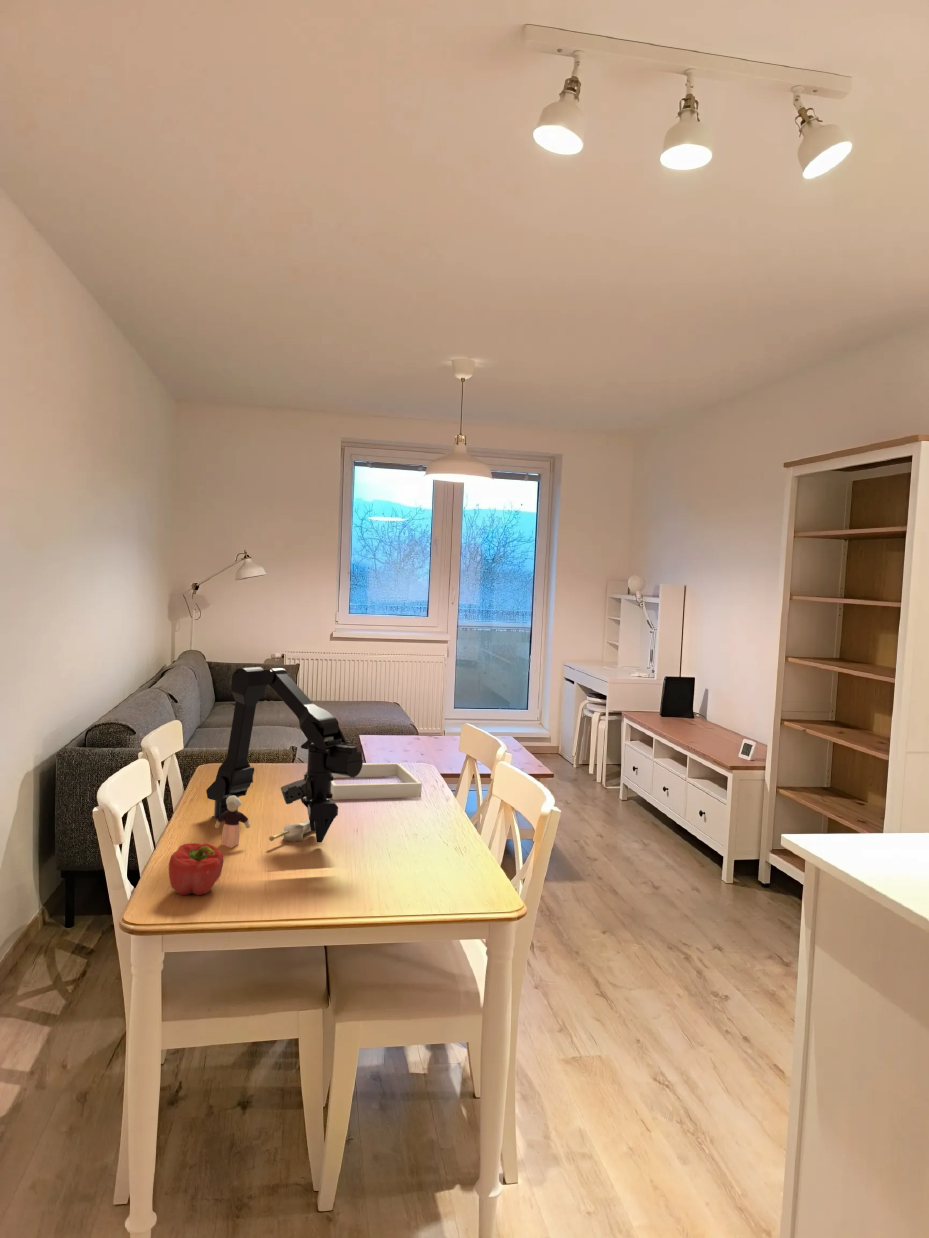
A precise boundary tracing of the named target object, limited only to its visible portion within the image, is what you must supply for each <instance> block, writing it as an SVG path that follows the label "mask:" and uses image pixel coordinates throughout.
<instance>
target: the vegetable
mask: <svg viewBox="0 0 929 1238" xmlns="http://www.w3.org/2000/svg"><path fill="white" fill-rule="evenodd" d="M223 865H224V854H223V852H222V851H221V850H220V849H218V848H217V847H216V846H215V845H213V844H210V843H183V844H181V845H179V846H178V848H177V850H176V851H174V852H173V853H172V854H171V856H170V859H169V863H168V876H169V883H170V886H171V888H172V889H173V890H174V892H176V893H177V894H178V895H180V896H186V895H189V894H194V895H196V896H197V895H198V896H201V895H204V894H206V893H209V892H210V891H211V889H212V888H213V886H214V885H215V884H216V882H217V881H218V880H219V878H220V876H221V873H222V869H223Z"/></svg>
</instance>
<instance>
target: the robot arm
mask: <svg viewBox="0 0 929 1238" xmlns="http://www.w3.org/2000/svg"><path fill="white" fill-rule="evenodd" d="M267 685H268V686H269V687H270V688H271V689H272V690H273V691H274V692H275V694H276V695H277V696H278V697H279V698H280V699H281V700H282V701H283V703H284V704H285V705H286V706H287V708H288V709H290V710H291V712H292V713H293V714H294V715H295V716H296V718H297V720H298V723H299V728H300V730H301V732H302V733H303V735H304V736H305V738H306V739H307V740H306V741H305V742H304V743H302V744H301V745H300V749H304V750H307V763H306V764H307V767H306V768H307V769H306V772H305V773H304V774H303V778H302V779H299V780H296V781H293V782H291V783H288V784H285V785H282V786H281V787H280V791H281V794H282V797H283V800H284V802H285V804H286V805H290V804H291V805H292V803H294V802H296V801H299V800H300V801H301V803H302V804H303V805H304V806H305V807H306V809H307V815H308V820H309V822H310V828H311V831H310V832H315V833H314V834H315V840H316V843H317V844H319V843H322V842H323V841H324V839H325V836H326V835H327V833H328V831H329V830H330V828H331V825H332V824H333V822H334V820H335V818H337V816H338V815H339V806H338V805H337V803H336V802H335V800H333V799H332V795H333V794H332V793H331V781H334V778H333V775H332V773H334V774H339V775H343V776H348V777H347V778H357V777H356V776H357V775H358V774H359V773H360V771H361V769H362V764H364V761H363V759H362V758H363V757H362V756H361V754H360V752H358V746H354V745H350V746H349V745H348V742H347V740H346V738H345V736H344V734H343V732H342V729H341V728H340V722H339V721H338V719H337V718H336V716H334V715H333V714H331V713H330V712H329V711H328V710H327V709H324V708H322V707H319V706H317V705H316V704H314V702H313V701H312V700H311V699H310V698H309V696H307V694H306V693H305V692H304V691H303V690H302V688H300V687H299V686H298V685H297V683H295V681H294V680H293V679H292V678H291V677H290V676H289V675H288V671H287V670H286V669H285V668H282V667H273V668H267V669H264V668H262V666H252V667H251V666H250V667H240V668H237V669H235V670H234V671H233V673H232V675H231V687H230V688H231V689H230V691H231V694H232V695H233V698H234V701H235V703H234V704H235V705H234V709H233V710H234V711H233V717H232V724H231V727H230V728H231V730H230V735H229V742H228V747H227V755H226V757H225V759H224V760H223V761H222V763H221V764H220V766H219V767H218V771H217V772H216V776H215V780H214V781H213V782H212V783H211V785H210V786H209V787H207V788H206V792H205V793H206V797H207V799H208V800H212V801H214V812H213V815H212V816H211V818H216V819H218V818H219V817H220V815H221V814H222V813H223V812H225V811H228V809H227V804H226V800H227V798H228V797H229V796H234V795H235V796H236V797H238V798H239V797H242V796H246V795H247V793H248V790H249V788H250V787H251V784H252V783H254V779H253V778H254V773H255V767H254V766H251V764H250V762H249V760H248V756H249V749H250V745H251V744H250V743H251V738H252V731H253V726H254V721H255V713H256V707H257V705H258V702H259V701H260V700H261V698H262V697H263V695H264V694H265V691H266V688H267ZM239 799H240V798H239ZM236 811H239V808H238V809H237V810H236Z"/></svg>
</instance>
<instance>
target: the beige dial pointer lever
mask: <svg viewBox="0 0 929 1238" xmlns="http://www.w3.org/2000/svg"><path fill="white" fill-rule="evenodd" d="M309 832H312V831H311V828H310V822H309V819H307V820H304V821H302V822H300V823H288V824H286V825H284V826H283V831H282V832H279V833H277V834H275V835H271V836H269V838H268V839H269V841H270V842H273V841H274V840H276V839H279V838H280V837H281V838H282V837H283V840H284V841H286V842H292V843H293V842H294V843H295V842H300V841H302V840H303V839H304V834H305V835H306V834H307V833H309Z"/></svg>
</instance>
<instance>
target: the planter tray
mask: <svg viewBox="0 0 929 1238" xmlns="http://www.w3.org/2000/svg"><path fill="white" fill-rule="evenodd" d="M332 775H333V779H337V778H338V779H339V778H349V777H348V776H343V775H339V774H334V773H332ZM382 776H392V777H396V778H398V779H399V781H401V782H399V783H398V782H395V783H392V782H391V783H352V784H351V783H350V784H346V783H345V784H337V783H336V782H335V780H333V781H331V793H332V794H333V795H332V798H331V800H333V801H335V800H336V801H337V800H366V799H367V800H369V799H398V798H399V799H401V798H421V797H422V790H423V789H422V788H423V784H422V782H421V781H420V780H419V779H417V778H416V776H414V775H413V774H412V773H411V772H410V771H408V770H407V769H406V768H405V767H404V766H403V765H402V764H401V763H400V762H399V763H390V762H389V763H363V764H362V769H361V771H360V773H359V774H358V775H357V776H356V777H355V778H381V777H382ZM382 778H383V777H382Z"/></svg>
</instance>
